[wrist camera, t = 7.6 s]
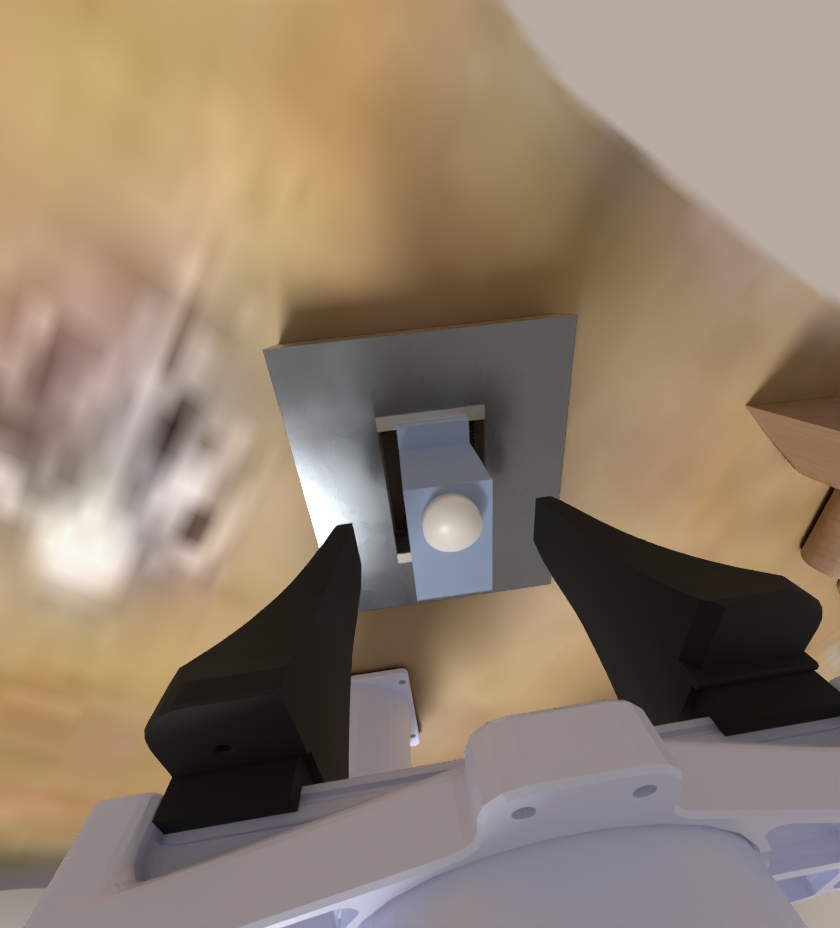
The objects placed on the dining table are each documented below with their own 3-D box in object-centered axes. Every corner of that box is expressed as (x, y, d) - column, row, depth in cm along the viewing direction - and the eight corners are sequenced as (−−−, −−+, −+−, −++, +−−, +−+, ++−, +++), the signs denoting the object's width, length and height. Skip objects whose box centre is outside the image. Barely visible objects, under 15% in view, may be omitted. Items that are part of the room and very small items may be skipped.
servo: (462, 522, 19) (496, 620, 13) (409, 529, 19) (421, 631, 13) (456, 403, 16) (498, 459, 10) (394, 410, 16) (399, 472, 10)
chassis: (536, 559, 21) (551, 585, 19) (342, 587, 20) (338, 616, 18) (553, 313, 15) (578, 314, 13) (278, 344, 14) (261, 350, 12)
